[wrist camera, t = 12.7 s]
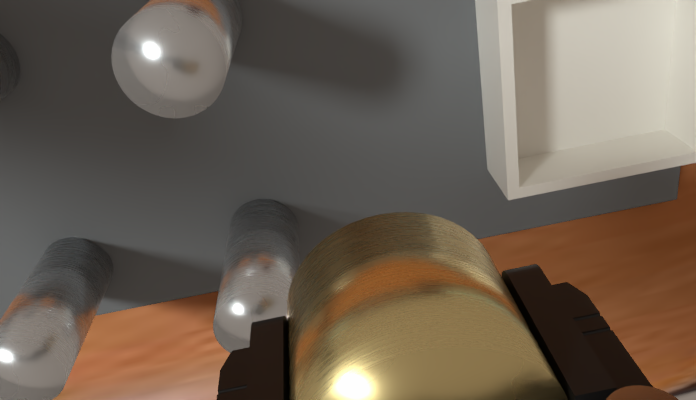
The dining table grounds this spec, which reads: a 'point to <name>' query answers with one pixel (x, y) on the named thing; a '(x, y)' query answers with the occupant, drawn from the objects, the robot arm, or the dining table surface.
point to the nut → (409, 318)
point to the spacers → (93, 261)
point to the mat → (256, 140)
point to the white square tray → (585, 90)
